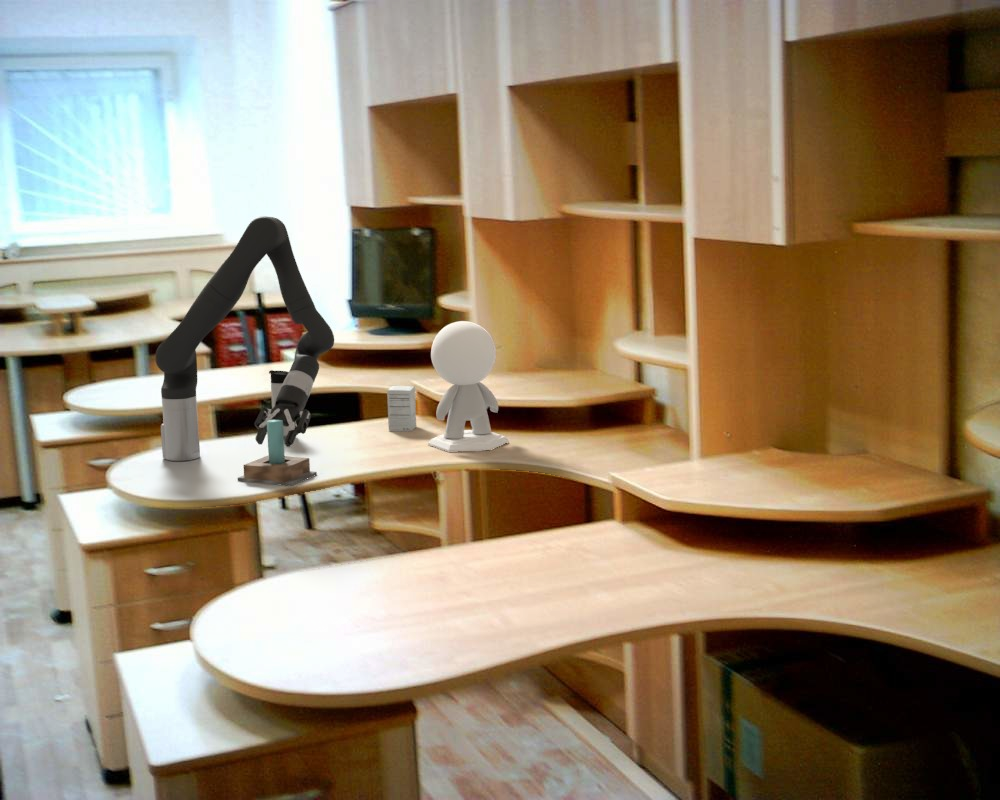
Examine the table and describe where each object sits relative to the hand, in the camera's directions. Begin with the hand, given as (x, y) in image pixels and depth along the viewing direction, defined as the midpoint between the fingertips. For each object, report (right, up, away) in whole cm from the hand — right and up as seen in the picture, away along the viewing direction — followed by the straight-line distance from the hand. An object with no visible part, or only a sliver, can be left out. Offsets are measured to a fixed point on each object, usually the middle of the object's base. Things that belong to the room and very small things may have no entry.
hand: (272, 444), depth 319 cm
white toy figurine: (+49, -2, +38) cm, 62 cm away
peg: (+1, -8, +3) cm, 9 cm away
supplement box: (+28, +2, +61) cm, 67 cm away
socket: (+1, -9, +3) cm, 9 cm away
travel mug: (-6, 0, +52) cm, 52 cm away
